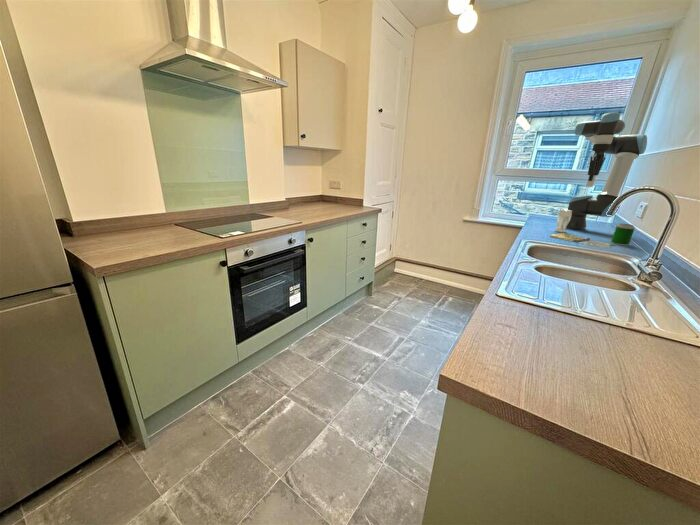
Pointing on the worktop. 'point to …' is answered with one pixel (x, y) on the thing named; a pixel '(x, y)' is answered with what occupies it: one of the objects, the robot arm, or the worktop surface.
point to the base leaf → (596, 243)
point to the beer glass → (563, 220)
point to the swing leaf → (568, 237)
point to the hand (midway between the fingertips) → (589, 186)
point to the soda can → (623, 234)
